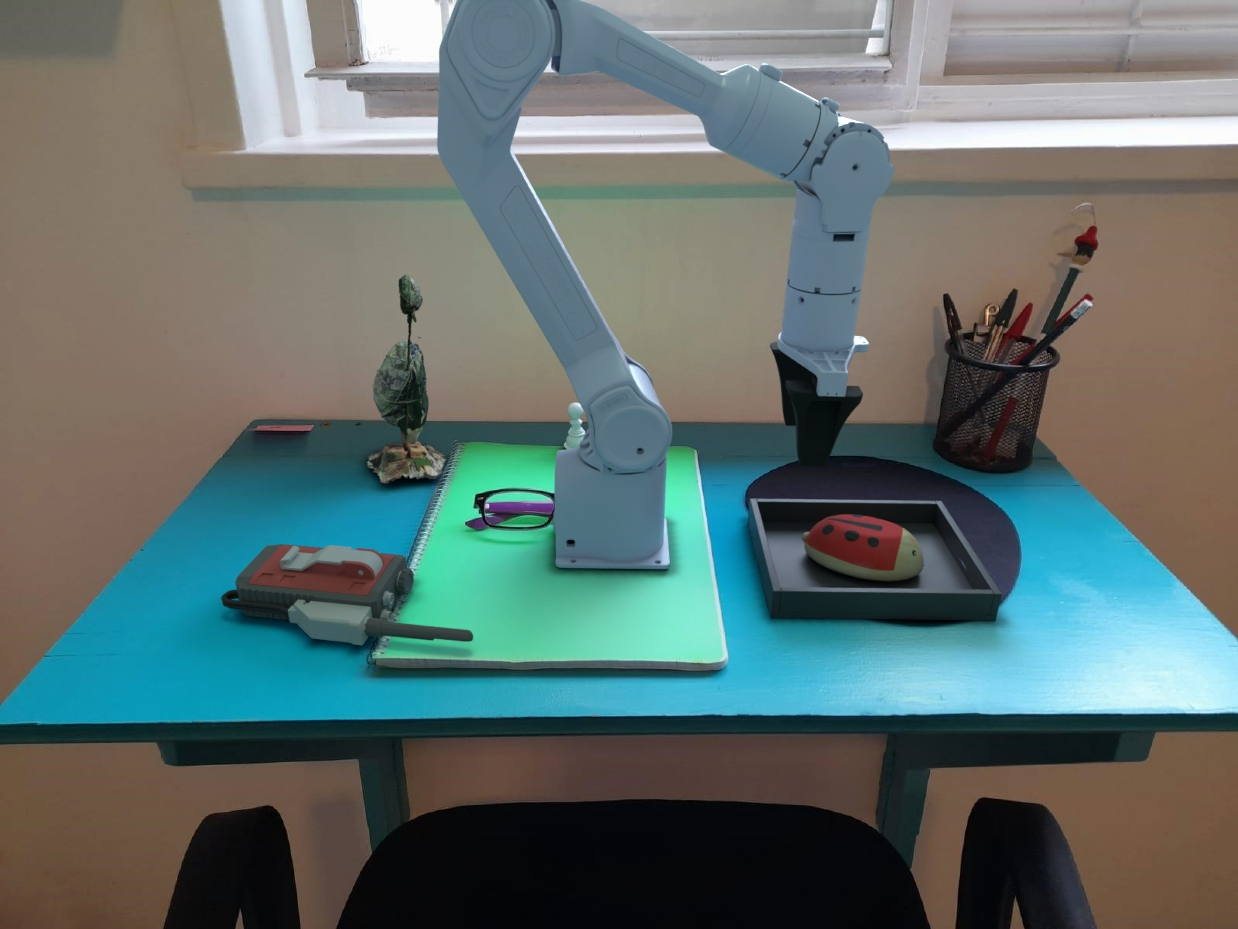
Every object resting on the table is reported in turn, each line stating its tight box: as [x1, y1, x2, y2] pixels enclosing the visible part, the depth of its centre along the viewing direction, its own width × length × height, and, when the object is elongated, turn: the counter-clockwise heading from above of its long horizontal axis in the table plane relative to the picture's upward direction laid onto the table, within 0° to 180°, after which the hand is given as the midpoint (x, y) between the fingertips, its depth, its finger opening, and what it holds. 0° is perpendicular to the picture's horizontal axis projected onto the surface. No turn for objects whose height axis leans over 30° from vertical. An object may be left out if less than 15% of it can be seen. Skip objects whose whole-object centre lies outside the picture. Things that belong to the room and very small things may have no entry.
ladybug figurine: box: [802, 514, 924, 581], centre depth 72 cm, size 7×10×4 cm
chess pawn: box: [563, 402, 586, 450], centre depth 91 cm, size 3×3×5 cm
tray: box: [747, 498, 1003, 622], centre depth 72 cm, size 17×14×2 cm
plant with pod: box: [366, 273, 447, 484], centre depth 84 cm, size 8×11×20 cm
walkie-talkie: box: [220, 543, 474, 646], centre depth 66 cm, size 9×4×20 cm
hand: (803, 443), depth 73 cm, fingers open, 7 cm apart
